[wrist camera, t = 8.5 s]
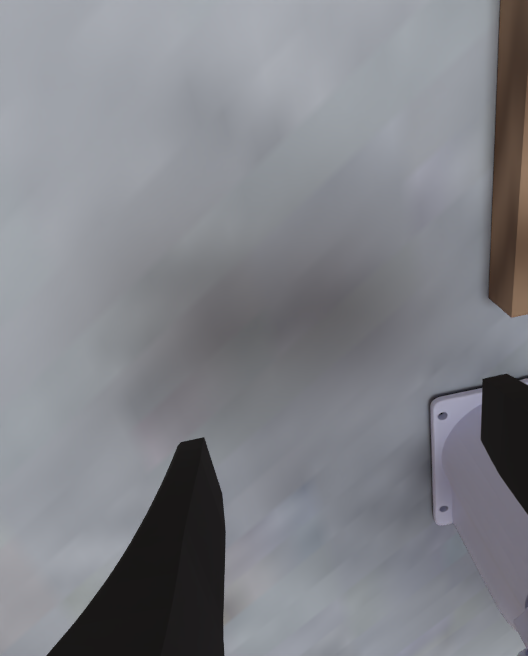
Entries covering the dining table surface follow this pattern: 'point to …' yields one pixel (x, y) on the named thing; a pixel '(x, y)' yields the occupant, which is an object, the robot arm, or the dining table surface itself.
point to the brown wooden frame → (511, 165)
